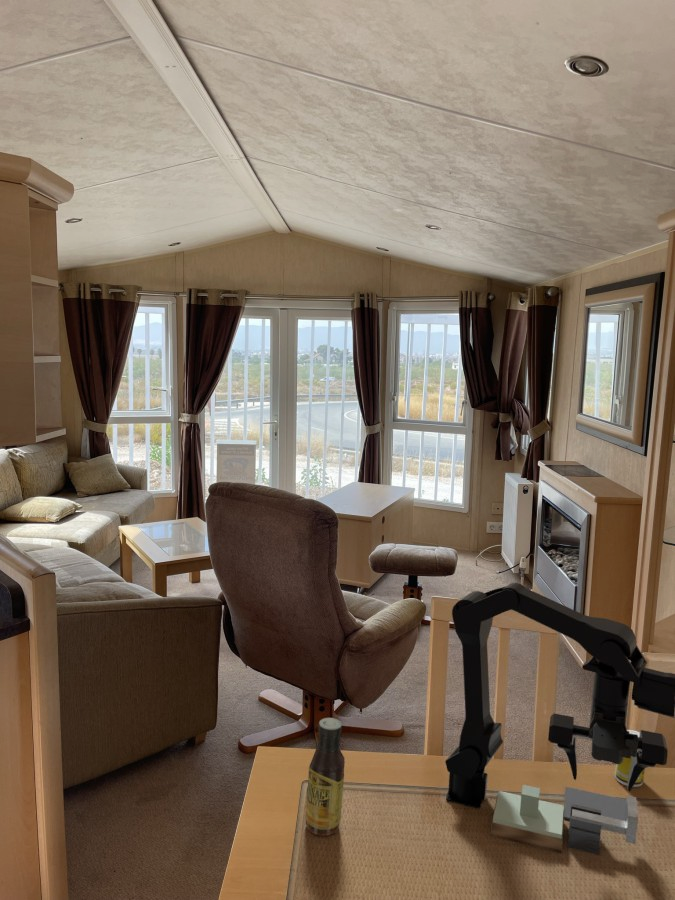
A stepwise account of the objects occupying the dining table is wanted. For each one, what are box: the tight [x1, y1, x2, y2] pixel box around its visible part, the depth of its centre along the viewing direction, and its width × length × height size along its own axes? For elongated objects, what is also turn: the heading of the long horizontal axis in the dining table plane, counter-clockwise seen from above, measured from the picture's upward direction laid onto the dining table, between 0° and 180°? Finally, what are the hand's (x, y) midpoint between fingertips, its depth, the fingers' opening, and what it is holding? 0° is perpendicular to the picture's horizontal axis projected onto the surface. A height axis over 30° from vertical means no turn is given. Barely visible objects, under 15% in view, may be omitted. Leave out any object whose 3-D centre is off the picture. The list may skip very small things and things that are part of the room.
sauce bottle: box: [304, 717, 346, 837], centre depth 128 cm, size 6×6×20 cm
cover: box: [492, 784, 564, 839], centre depth 131 cm, size 12×9×5 cm
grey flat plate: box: [563, 786, 626, 821], centre depth 138 cm, size 12×10×1 cm
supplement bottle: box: [614, 729, 646, 788], centre depth 147 cm, size 5×5×10 cm
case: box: [490, 794, 565, 854], centre depth 132 cm, size 12×9×2 cm
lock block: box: [567, 804, 602, 856], centre depth 128 cm, size 5×5×5 cm
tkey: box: [572, 795, 639, 845], centre depth 127 cm, size 10×6×5 cm, turn 71°
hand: (601, 784), depth 126 cm, fingers open, 8 cm apart
